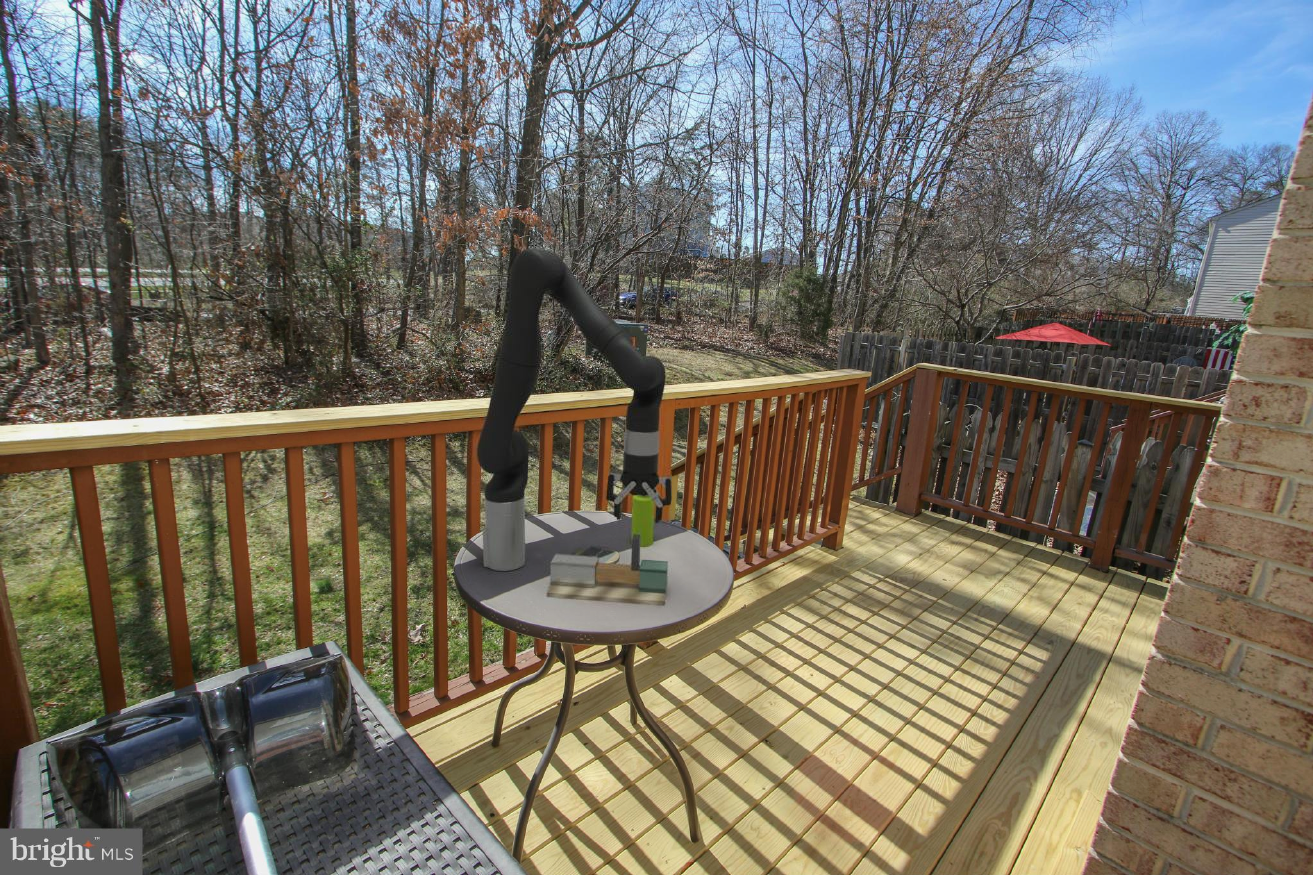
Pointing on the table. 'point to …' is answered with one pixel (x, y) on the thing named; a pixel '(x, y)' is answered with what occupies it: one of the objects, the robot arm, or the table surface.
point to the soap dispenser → (643, 519)
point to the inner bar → (621, 567)
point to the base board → (609, 593)
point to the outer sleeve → (573, 570)
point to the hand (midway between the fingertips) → (637, 520)
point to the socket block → (653, 576)
